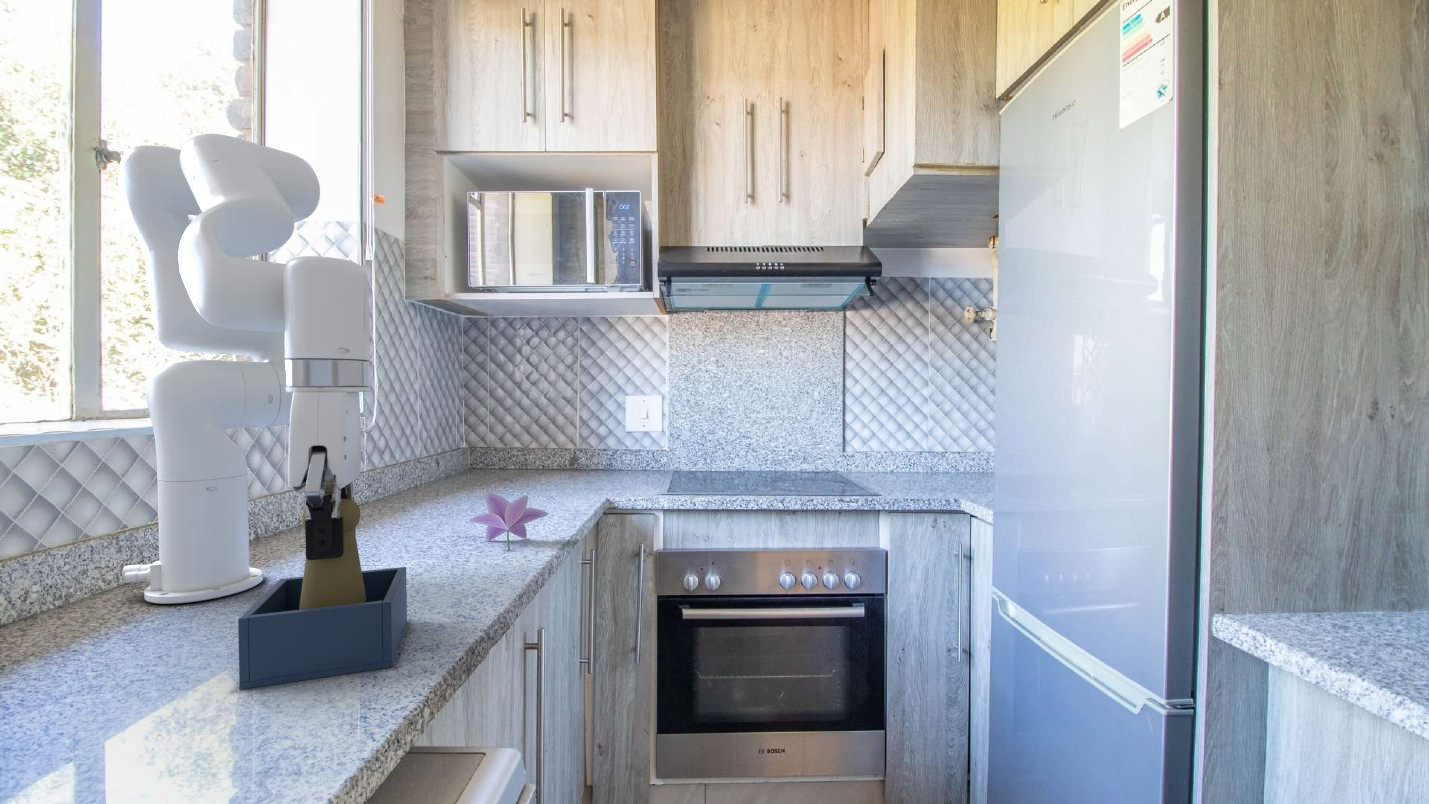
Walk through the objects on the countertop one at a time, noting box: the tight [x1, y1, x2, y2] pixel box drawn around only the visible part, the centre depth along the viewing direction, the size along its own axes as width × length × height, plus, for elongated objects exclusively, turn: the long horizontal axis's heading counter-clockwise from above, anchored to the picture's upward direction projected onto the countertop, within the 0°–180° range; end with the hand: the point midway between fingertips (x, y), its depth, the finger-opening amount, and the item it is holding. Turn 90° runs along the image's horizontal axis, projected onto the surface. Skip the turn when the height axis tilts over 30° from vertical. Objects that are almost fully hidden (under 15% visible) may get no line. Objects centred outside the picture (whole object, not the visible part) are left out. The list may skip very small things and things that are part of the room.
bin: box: [237, 566, 408, 690], centre depth 64 cm, size 13×13×7 cm
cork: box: [299, 499, 366, 610], centre depth 64 cm, size 6×6×11 cm
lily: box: [469, 491, 549, 551], centre depth 107 cm, size 12×12×10 cm
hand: (332, 548), depth 64 cm, fingers closed on cork, 5 cm apart
